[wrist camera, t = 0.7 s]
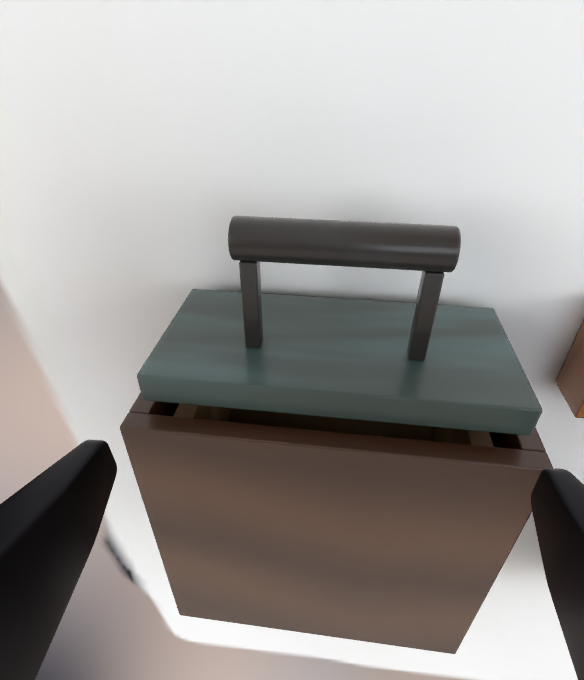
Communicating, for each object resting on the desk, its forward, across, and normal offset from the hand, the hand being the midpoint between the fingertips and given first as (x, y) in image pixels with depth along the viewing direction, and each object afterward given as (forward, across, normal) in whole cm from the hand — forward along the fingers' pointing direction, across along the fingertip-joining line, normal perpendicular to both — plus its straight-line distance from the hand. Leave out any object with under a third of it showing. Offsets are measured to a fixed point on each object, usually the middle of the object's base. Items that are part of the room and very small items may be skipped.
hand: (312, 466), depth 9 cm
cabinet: (+12, 0, +11) cm, 17 cm away
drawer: (+11, 0, +7) cm, 13 cm away
